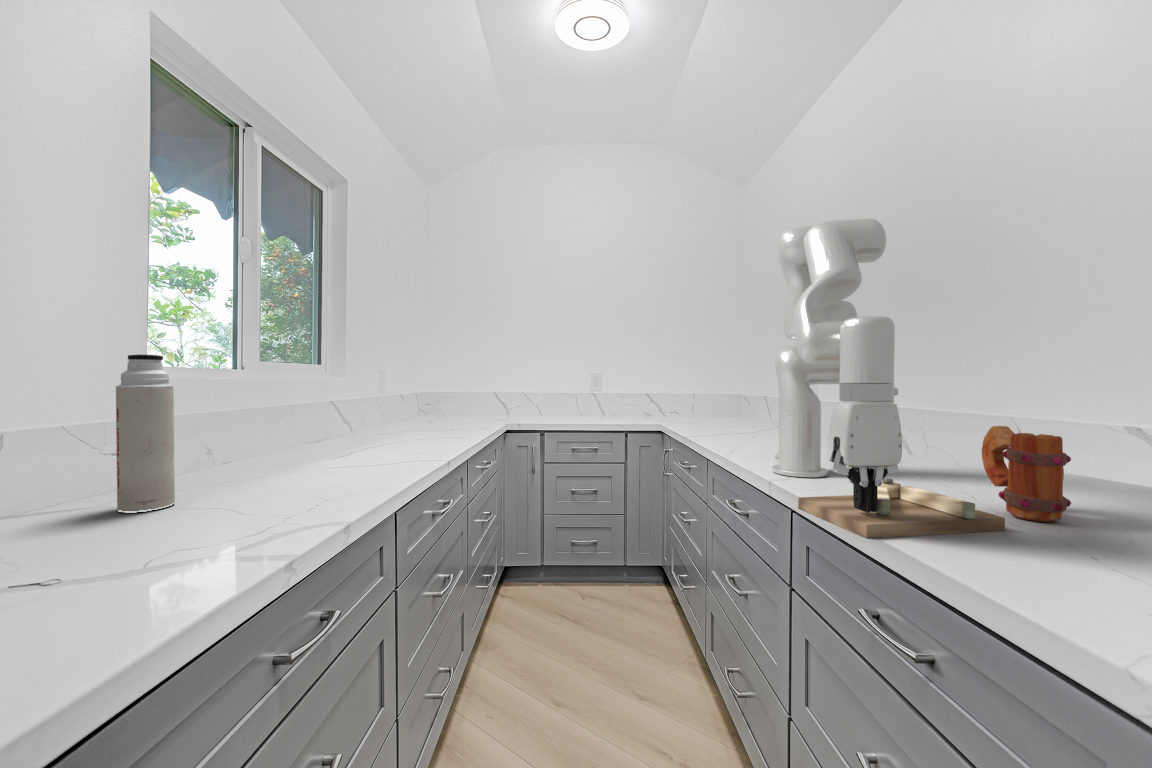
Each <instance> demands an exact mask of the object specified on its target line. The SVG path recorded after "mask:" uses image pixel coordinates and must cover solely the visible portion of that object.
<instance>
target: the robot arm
mask: <svg viewBox="0 0 1152 768" xmlns="http://www.w3.org/2000/svg"><path fill="white" fill-rule="evenodd" d="M886 245H887V235H886V230H885V228H884V226H883V224H882V223H881V222H880V221H879V220H877V219H874V218H856V219H838V220H837V219H836V220H829V221H828V220H827V221H822V222H819V223H817V224H815V225H806V226H799V227H793V228H790V229H788V230H786V231H784V232H783V233H782V234H781V235H780V236H779V240H778V247H777V250H778V253H777V254H778V260H779V264H780V268H781V271H782V273H783V277H784V282H785V289H784V293H785V295H784V308H783V309H784V311H783V328H784V329H783V330H784V334H785V336H786V338H788V339H790V340H793V341H794V342H795V345H791V346H787V347H784V348H782V349H780V350H779V351H778V352H777V354H776V357H775V360H774V361H775V364H774V365H775V371H776V378H777V387H778V416H779V417H778V452H777V453H776V454H775V455H774V459H775V460H777V461H778V462H777V464H774V465H773V466H772V467H771V468H772V469H771V471H772V472H774V474H778V475H781V476H787V477H796V478H822V477H827V476H828V472H829V470H828V469H826V468H824V467H821V465H822V462H821V461H822V460H821V458H822V457H821V456H822V455H821V454H822V453H821V452H822V449H821V447H822V445H821V444H822V443H821V441H822V403H821V400H820V398H819V396H818V395H817V394H816V393H815V391H813V389H812V388H811V387H810V385H811V386H812V385H839V392H838V394H839V399H838V400H839V402H837V403H834V405H833V408H832V411H831V416H830V421H829V423H830V424H829V429H828V437H827V438H828V440H827V459H828V460H829V461H830V463H833V465H832V472H833V473H836V474H839V475H843V476H846V478H848V480H849V483H851V484H853V485H852V486H853V488H852V489H853V492H852V493H853V494H852V495H853V502H854V507H855V508H856V509H859V510H861V511H864V512H877V491H878V487H879V486H881V484H882V481H883V479H884V478H886V477H887V475H891V474H895V473H898V471H899V464H900V463H901V461H902V457H903V456H902V454H903V436H902V434H903V433H902V427H901V426H902V425H901V420H900V419H901V418H900V414H899V407H898V405H897V404H896V403H895V396H896V397H897V396H898V395H899V389H898V388H897V387H895V338H896V337H895V335H896V334H895V332H896V331H895V322H894V321H893V319H892V318H890V317H888V316H883V315H881V316H880V315H866V316H865V315H864V316H863V315H862V316H858V312H857V310H856V306H854V304H853V303H852V302H850V301H847V300H845V299H847V298H848V297H850V296H852V295H853V294H854V293H855V292H856V291H858V290H859V288H860V287H861V284H862V280H863V275H862V272H861V269H860V265H859V264H866V263H867V264H868V263H874V262H876V261H878V260H879V259H880V258H882V257H883V255H884V253H885V250H886V247H887V246H886Z"/></svg>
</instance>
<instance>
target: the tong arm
mask: <svg viewBox="0 0 1152 768" xmlns="http://www.w3.org/2000/svg"><path fill="white" fill-rule="evenodd" d="M900 497H901V484H900V483H898V482H894V481H893V483H883V480H882V484H881V486H879V487H878V491H877V513H878V514H881V515H890V498H900Z"/></svg>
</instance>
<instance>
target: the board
mask: <svg viewBox="0 0 1152 768" xmlns="http://www.w3.org/2000/svg"><path fill="white" fill-rule="evenodd" d="M797 503H798V507H797V508H798V509H799V510H801V511H802V512H805V513H807V514H810V515H812V516H814V517H817V518H820V519H822V520H823V521H826V522H828V523H831V524H833V525H835V526H838V527H840V528H841V529H842V528H843V529H844V530H846V531H848V532H851V533H853V534H856V535H858V536H860V537H863V538H865V539H875V538H893V537H894V538H895V537H913V536H914V537H915V536H929V535H947V534H948V535H949V534H963V533H965V534H966V533H983V532H985V533H987V532H1002V531H1005V530H1006V518H1005V517H1003V516H1001V515H997V514H993V513H989V512H986V511H982V510H979V509H975V519H967V518H962V517H959V516H956V515H952V514H949V513H946V512H942V511H939V510H936V509H933V508H929V507H926V506H923V505H919V504H916V503H913V502H909V501H906V500H903V499H901V497H900V498H890V515H881V514H878V513H877V512H864V511H861V510H859V509H856V508H855V507H854V502H853V494H850V495H847V494H845V495H826V496H825V495H824V496H823V495H822V496H803V497H800V496H799V497H798V500H797Z"/></svg>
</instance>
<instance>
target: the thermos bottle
mask: <svg viewBox="0 0 1152 768" xmlns="http://www.w3.org/2000/svg"><path fill="white" fill-rule="evenodd" d="M127 360H128V362H127V363H126V365H127V368H126V370H125V371H124V372H121V373H120V377H119V380H120V384H119V385H116V386H115V425H116V426H115V427H116V428H115V429H116V434H115V435H116V439H115V440H116V441H115V442H116V501H117V502H116V503H117V504H116V508H117V509H118V510H122V511H139V510H148V509H155V508H159V507H164V506H167V505H170V504H172V503H174V502H175V503H176V495H175V494H176V491H175V488H176V487H175V486H176V485H175V482H176V481H175V479H176V478H175V462H174V461H175V460H174V459H175V457H174V456H175V403H174V401H175V399H174V398H175V397H174V396H175V395H174V393H175V391H174V385H172V384H170V382H169V381H170V380H171V379H170V376H169V373H168V372H166V371H164V370H163V363H162V361H163V360H164V356H163V355H158V354H128V355H127ZM117 509H116V510H117Z"/></svg>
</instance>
